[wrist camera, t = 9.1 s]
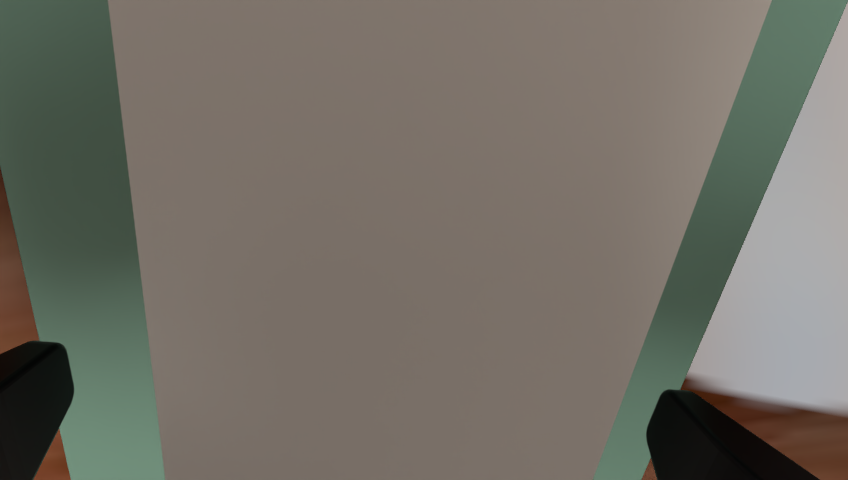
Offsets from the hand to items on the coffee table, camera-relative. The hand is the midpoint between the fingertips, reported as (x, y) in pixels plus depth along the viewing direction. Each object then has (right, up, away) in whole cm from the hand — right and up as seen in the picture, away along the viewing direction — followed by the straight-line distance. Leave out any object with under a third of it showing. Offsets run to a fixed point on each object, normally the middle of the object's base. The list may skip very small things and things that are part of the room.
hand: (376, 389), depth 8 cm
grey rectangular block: (0, +1, +2) cm, 2 cm away
